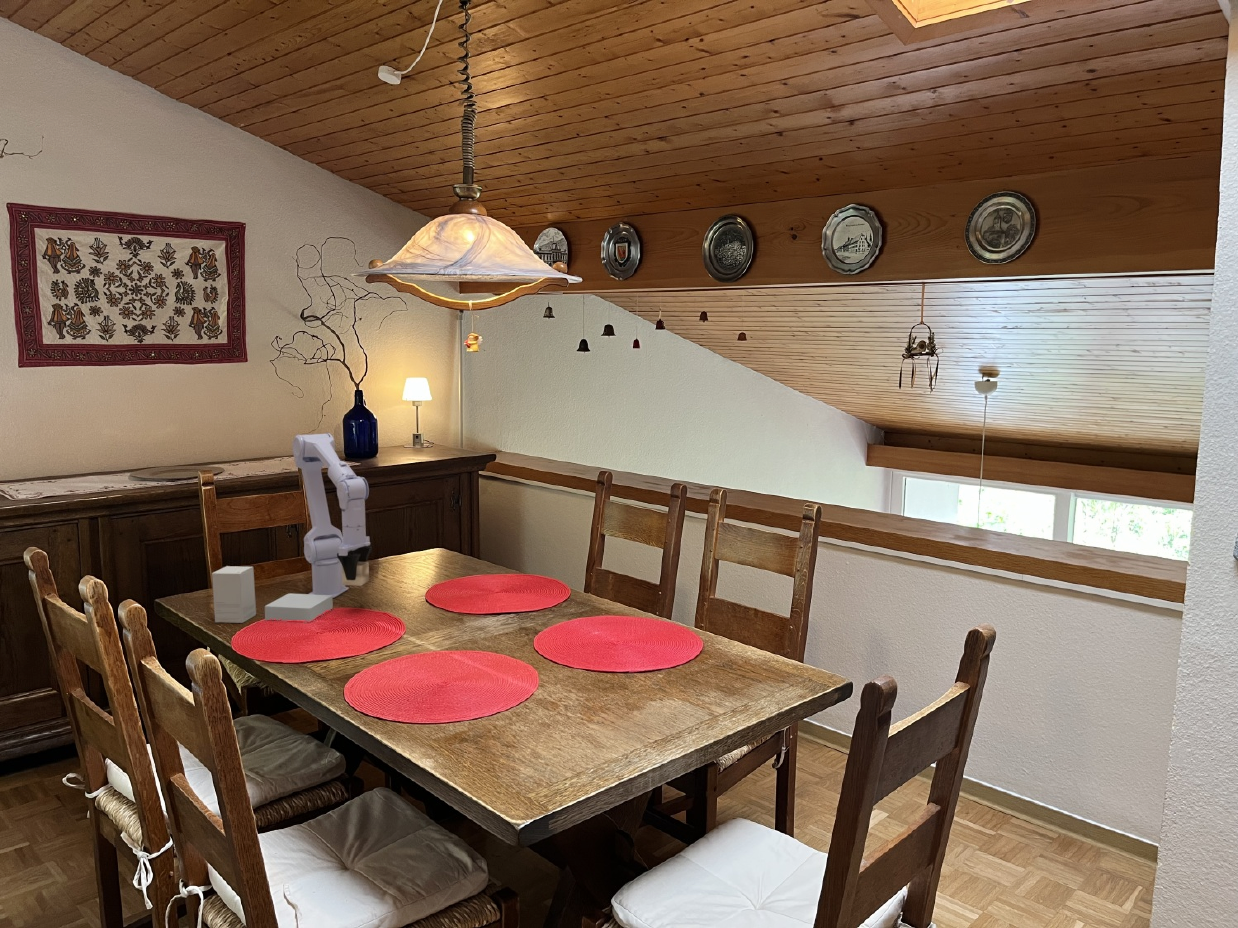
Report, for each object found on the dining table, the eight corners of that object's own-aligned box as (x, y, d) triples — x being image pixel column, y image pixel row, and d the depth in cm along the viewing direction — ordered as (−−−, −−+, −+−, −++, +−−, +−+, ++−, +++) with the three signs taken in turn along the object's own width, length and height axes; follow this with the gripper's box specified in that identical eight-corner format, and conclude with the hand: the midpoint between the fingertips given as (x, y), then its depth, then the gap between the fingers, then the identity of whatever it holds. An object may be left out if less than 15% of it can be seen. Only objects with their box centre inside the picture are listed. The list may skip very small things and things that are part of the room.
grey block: (289, 608, 239) (288, 593, 238) (332, 610, 237) (332, 595, 236) (265, 621, 227) (264, 606, 226) (310, 624, 225) (310, 608, 225)
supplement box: (257, 614, 231) (254, 566, 230) (242, 623, 224) (239, 573, 222) (229, 613, 232) (226, 565, 230) (213, 622, 225) (210, 572, 223)
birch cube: (350, 579, 239) (350, 561, 238) (369, 580, 238) (368, 561, 238) (342, 584, 234) (341, 565, 233) (361, 585, 233) (360, 566, 233)
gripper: (356, 531, 227) (358, 584, 228) (380, 520, 241) (381, 570, 243) (329, 530, 228) (331, 583, 229) (354, 519, 242) (356, 569, 244)
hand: (355, 577), depth 236 cm, fingers closed on birch cube, 5 cm apart
